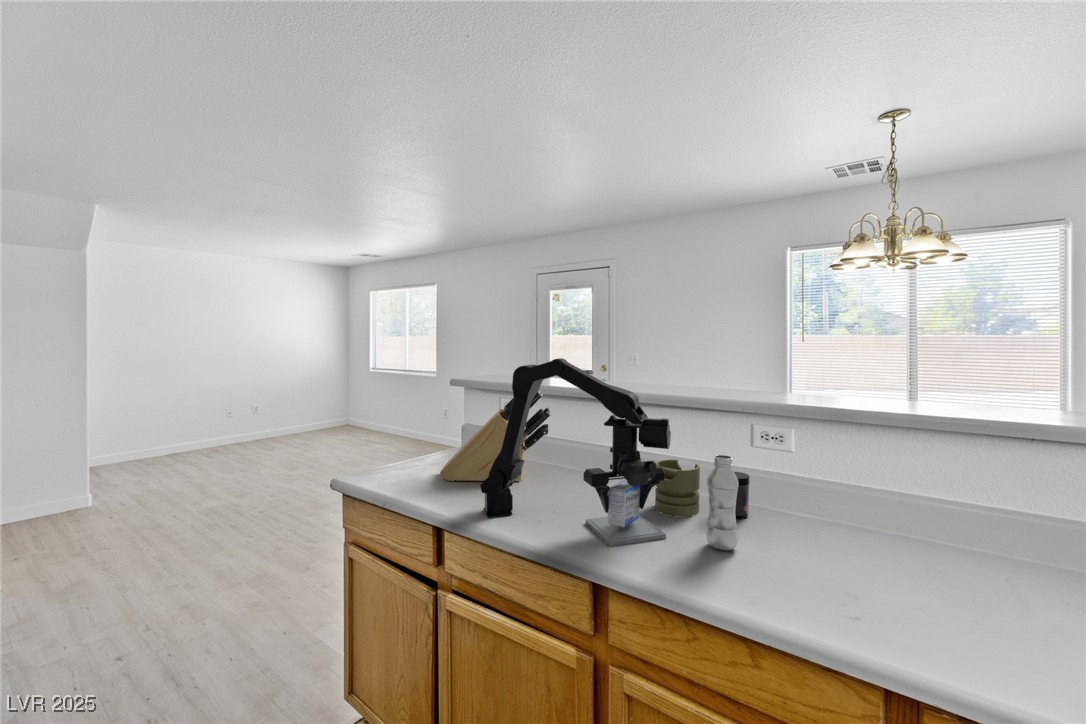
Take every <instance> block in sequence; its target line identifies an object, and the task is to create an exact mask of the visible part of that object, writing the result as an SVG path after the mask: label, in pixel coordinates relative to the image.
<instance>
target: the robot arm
mask: <svg viewBox="0 0 1086 724" xmlns="http://www.w3.org/2000/svg"><path fill="white" fill-rule="evenodd" d="M513 371H514V372H513V373H512V382H511V383H512V384H511V389H512V395H513V398H514V400H513V404H512V408H511V412H510V416H509V420H508V424H507V428H506V432H505V436H504V440H503V444H502V448H501V451H500V453H499V454H498V456H497V458H496V459H495V461H494V462H493V465H492V467H491V469H490V472H489V477H488V478H487V479H486V480H484V481H483V482H482V483H480V484H479V487H480V491H481V493H482V494H484V507H483V511H484V514H485V515H486V517H487V518H498V517H503V516H504V517H506V516H512V515H513V512H512V511H513V509H514V506H513V501H514V500H513V499H514V498H513V494H512V492H511V488H510V487H512V486H513V485H514V482H515V481H514V480H516V479H517V478H518V476H520V475H521V474H522V466H523V467H524V464H525V459H523V460H521V459H520V457H519V449H520V445H521V441H522V437H523V433H524V430H525V428H526V426H525V425H526V422H527V421H528V416H529V413H530V409H531V408H530V405H531V402H532V400H533V398H534V396H535V395H536V393H537V392H539V391H540V388H541V386H542V383H543V381H544V380H545V379H547V380H548V379H549V378H553V377H555V376H556V377H558V378H560V379H562V380H564V381H566V382H567V383H569V384H571V385H572V386H574V387H575V388H578V389H580V390H581V391H583V392H585V393H587V394H588V395H590V396H592V397H593V398H595V399H597V400H598V401H599V402H600V403H601V404H602V405H603V406H604V408H606V409H607V410H608V411H609V412H610V413H612V414H611V415H610V416H609V418H608V419H607V420H606V421H604V423H603V425H604V427H605V426H606V427H612V446H611V447H610V448H609V452H610V453H611V454H612V456H611V460H612V462H611V463H610V464H609V469H610V470H612V471H606V470H604V469H602V468H600V467H596V468H595V467H593V468H586V469H585V470H584V472H583V478H582V479H583V482H585V483H586V484H588V485H589V486H591V487H592V488H594V489H595V491H596V493H597V495H598V497H599V500H600V503H601V505H602V508H603V511H604V512H605V514H608V509H609V503H608V491H609V489H610V487H611V486H609V485H608V484H609V482H610V481H614V480H623V479H625V481H627V483H628V484H629V485H632V486H635V485H638V484H640V503H639V510H643V509H644V508H645V505H646V502H647V499H648V497H649V494H650V492H651V491H652V489H653V487H655V486H656V484H659V483H660V482H659V481H663V480H665V472H664V470H663V468H661V467H659V466H657V465H656V462H655V461H654V460H647V461H642V458H641V453H640V451H639V450H638V442H639V443H640V445H642V447H643V448H653V449H665V450H669V449H670V448H671V447H670V445H671V439H672V437H671V435H672V432H671V429H670V427H671V426H670V420H669V418H649V416H648V415H647V414H646V412H645V411H644V409H643V408H642V407H641V405H640V400H639V396H638V395H637V394H636V393H635V392H633V391H631V390H628V389H625V388H622V387H618V386H614V385H611V384H608V383H606V382H605V381H602V380H600V379H599V378H597V377H595V376H594V375H592V374H590V373H588V372H586V371H584V370H583V369H582V368H579V367H578V366H577V365H576V366H575V365H574V364H572V363H571V362H569V361H567V359H566V358H554V359H552V360H550V361H547V362H544V363H541V364H526V365H520V366H518V367H517V368H515V370H513ZM522 475H523V474H522Z"/></svg>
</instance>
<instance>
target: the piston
mask: <svg viewBox="0 0 1086 724" xmlns="http://www.w3.org/2000/svg"><path fill="white" fill-rule="evenodd" d="M655 463H656V465H657V466H659V467H661V468H663V470H664V472H665V480H663V481H659V482H660V483H659V484H656V485H655V486H656V487H655V489H654V491H655V492H654V493H655V494H654V495H655V500H654V502H655V504H654V505H655V506H654V508H656V509H655V510H656V511H657V512H658V511H659V512H658V513H660V512H661V513H660V514H662V513H663V514H662V515H665V514H666V515H665V516H668V515H671V516H670V517H674V516H679V517H678V518H684V517H683V516H691V517H694V516H693V515H695V516H697V515H699V513H700V491H699V489H700V486H701V485H700V484H701V483H700V481H701V480H700V479H701V478H700V476H701V475H700V473H701V471H700V470H701V468H700V467H701V466H700V464H698V463H695V465H694V468H692V469H684V468H682V467H681V466H680V464H679V459H662V460H659V461H656V462H655ZM696 514H697V515H696ZM681 516H682V517H681Z"/></svg>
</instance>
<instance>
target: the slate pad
mask: <svg viewBox="0 0 1086 724" xmlns="http://www.w3.org/2000/svg"><path fill="white" fill-rule="evenodd" d="M585 525H587V527H588V528H590V529H591V530H592V532H594V533H595V534H596V535H597V536H598V537H599V538H600V539H601V540H602V541H604V542H605V543H606V545H608V546H609V547H615V546H623V545H630V544H636V543H644V542H650V541H659V540H666V539H667V534H666V533H665V532H663V531H662V530H661V529H659V528H658V527H657V526H656V525H654V524H653V523H651V522H649V521H648V520H647V519H645V518H644V517H643V516H641V515H640V514H639V518H638V519H637V520H635V521H634V522H632V523H631V524H629V525H628V526H626V527H625V528H623V527H620V526H616V525H612V524H609V523H608V516H603V517H597V518H596V517H595V518H589V519H585ZM665 538H666V539H665Z"/></svg>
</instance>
